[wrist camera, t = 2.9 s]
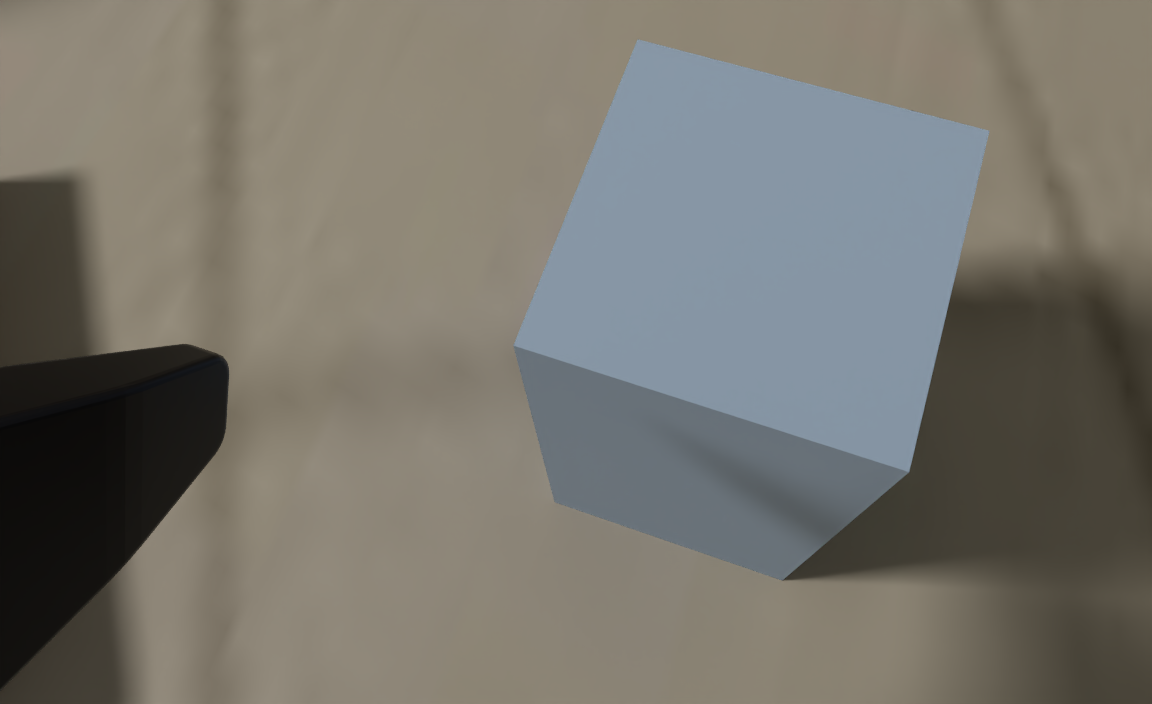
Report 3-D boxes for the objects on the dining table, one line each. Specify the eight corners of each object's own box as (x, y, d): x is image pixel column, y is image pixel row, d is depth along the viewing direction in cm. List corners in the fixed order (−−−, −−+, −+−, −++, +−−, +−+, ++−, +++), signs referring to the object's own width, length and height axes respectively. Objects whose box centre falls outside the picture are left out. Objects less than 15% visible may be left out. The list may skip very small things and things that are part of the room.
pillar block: (554, 502, 20) (513, 345, 12) (628, 300, 22) (637, 39, 14) (782, 580, 20) (909, 471, 11) (840, 365, 21) (989, 131, 13)
